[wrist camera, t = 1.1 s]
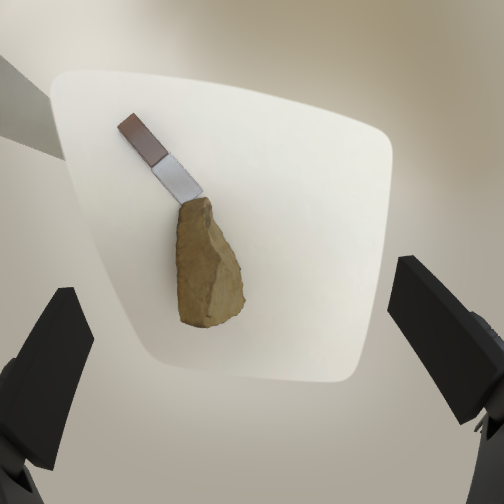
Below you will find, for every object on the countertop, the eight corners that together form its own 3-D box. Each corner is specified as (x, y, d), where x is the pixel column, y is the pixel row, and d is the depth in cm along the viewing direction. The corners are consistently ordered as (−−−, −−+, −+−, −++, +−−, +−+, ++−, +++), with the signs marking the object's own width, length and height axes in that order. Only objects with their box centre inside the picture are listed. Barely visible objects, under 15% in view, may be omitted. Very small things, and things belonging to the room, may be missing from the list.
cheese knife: (117, 131, 26) (115, 128, 25) (136, 114, 26) (135, 111, 25) (183, 207, 29) (184, 207, 28) (202, 190, 29) (204, 190, 28)
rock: (154, 182, 25) (130, 297, 25) (228, 182, 20) (195, 332, 20) (235, 211, 34) (215, 301, 34) (305, 219, 29) (282, 325, 29)
